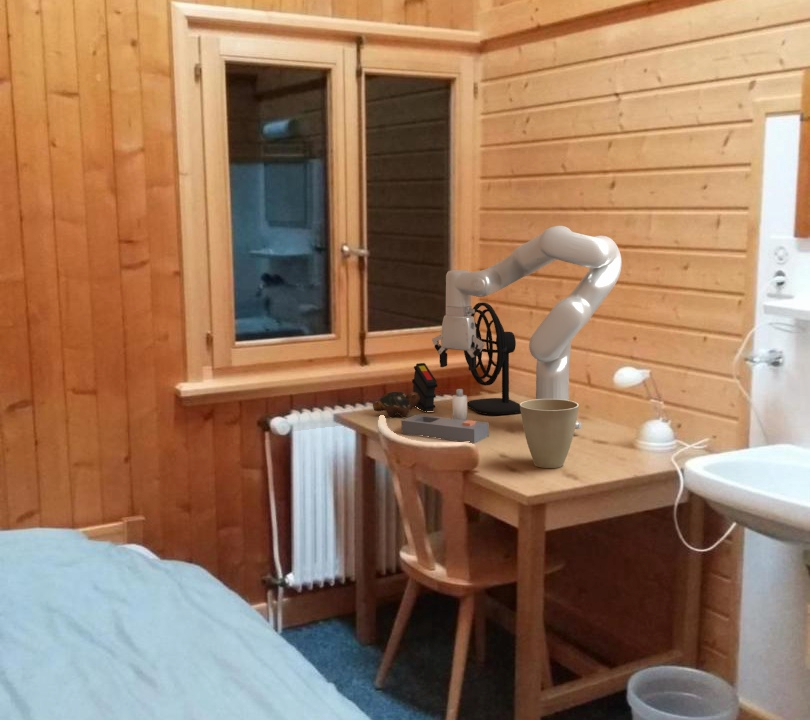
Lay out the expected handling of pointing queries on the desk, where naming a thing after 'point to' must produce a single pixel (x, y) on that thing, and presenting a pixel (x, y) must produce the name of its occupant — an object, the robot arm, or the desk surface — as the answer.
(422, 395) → the black blocky piece
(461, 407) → the white bottle
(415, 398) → the decorative turtle
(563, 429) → the plant pot
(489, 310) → the desk fan
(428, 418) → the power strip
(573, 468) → the desk surface
